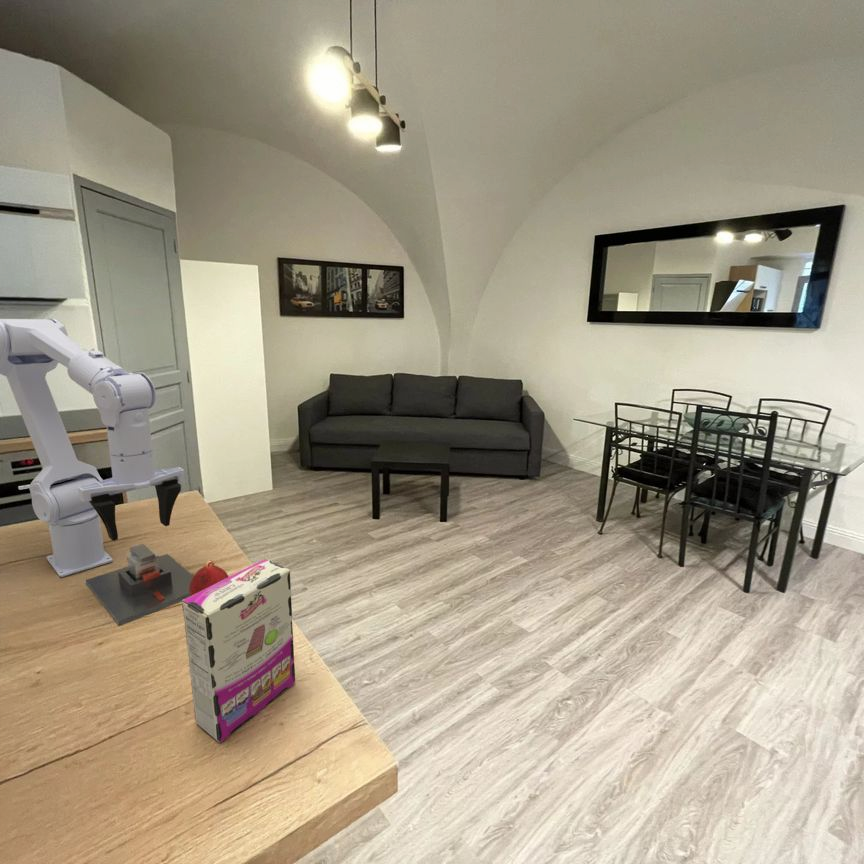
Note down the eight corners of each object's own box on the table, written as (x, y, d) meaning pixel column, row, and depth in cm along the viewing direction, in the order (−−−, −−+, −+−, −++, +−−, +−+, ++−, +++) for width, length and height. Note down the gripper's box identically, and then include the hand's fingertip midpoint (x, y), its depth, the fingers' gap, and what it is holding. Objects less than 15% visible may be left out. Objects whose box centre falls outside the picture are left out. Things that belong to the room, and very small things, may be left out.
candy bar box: (270, 667, 64) (265, 556, 60) (296, 683, 62) (293, 568, 58) (191, 725, 55) (179, 597, 51) (218, 746, 52) (208, 614, 49)
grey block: (127, 580, 81) (123, 549, 80) (152, 572, 84) (148, 542, 82) (139, 592, 78) (135, 560, 76) (164, 583, 81) (160, 552, 79)
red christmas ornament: (216, 620, 73) (212, 573, 71) (183, 615, 74) (178, 568, 72) (238, 599, 79) (235, 555, 77) (207, 594, 80) (203, 550, 78)
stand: (86, 584, 81) (83, 564, 80) (167, 557, 91) (166, 539, 90) (119, 625, 71) (116, 603, 70) (206, 591, 81) (205, 570, 80)
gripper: (84, 466, 67) (95, 554, 71) (189, 448, 78) (196, 525, 81) (69, 455, 72) (81, 538, 75) (171, 439, 83) (178, 513, 86)
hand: (140, 530), depth 79 cm, fingers open, 7 cm apart
